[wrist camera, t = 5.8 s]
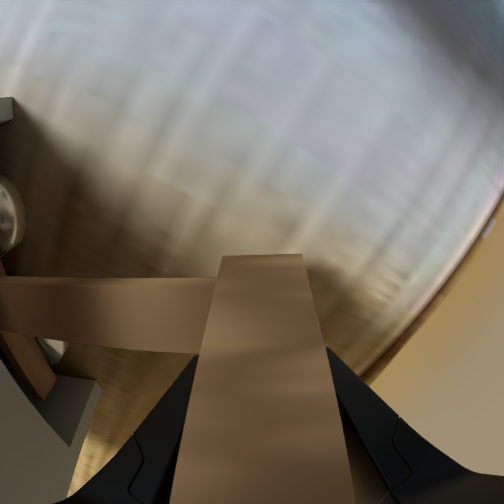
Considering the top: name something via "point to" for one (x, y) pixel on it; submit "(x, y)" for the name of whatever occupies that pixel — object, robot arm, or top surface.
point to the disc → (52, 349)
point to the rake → (209, 370)
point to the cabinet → (41, 427)
